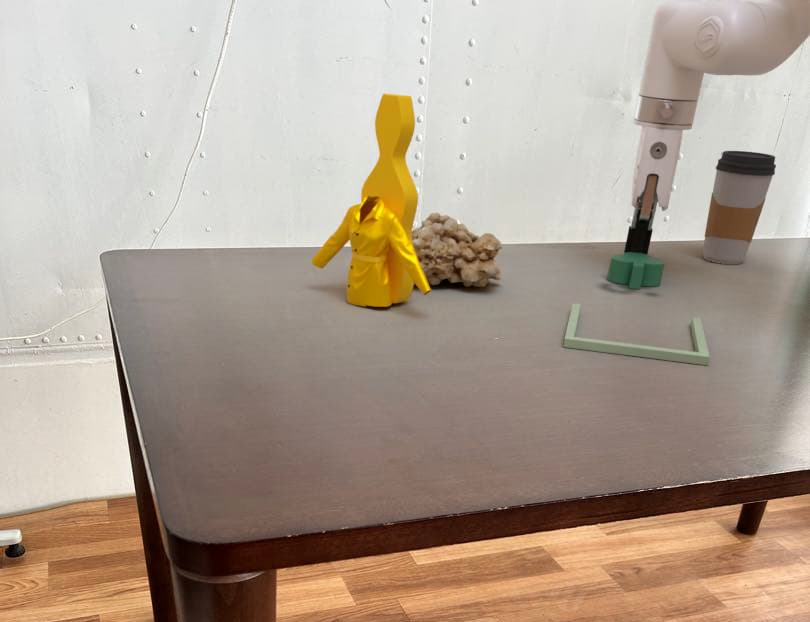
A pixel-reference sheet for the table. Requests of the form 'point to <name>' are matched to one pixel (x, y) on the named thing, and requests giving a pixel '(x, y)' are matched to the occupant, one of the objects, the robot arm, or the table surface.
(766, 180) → the coffee cup
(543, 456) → the table surface
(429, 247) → the mineral formation
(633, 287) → the club
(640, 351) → the pocket
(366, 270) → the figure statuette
